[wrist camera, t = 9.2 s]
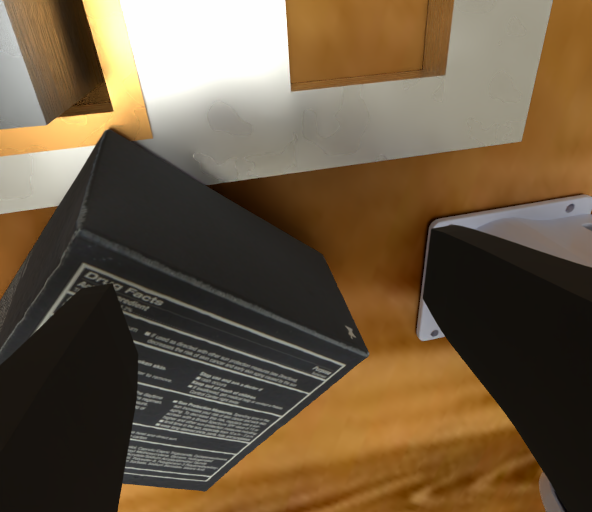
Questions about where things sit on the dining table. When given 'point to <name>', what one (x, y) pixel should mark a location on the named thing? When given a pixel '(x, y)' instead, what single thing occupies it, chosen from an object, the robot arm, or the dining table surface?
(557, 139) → the dining table surface
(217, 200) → the small box
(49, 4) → the post
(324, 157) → the rail plate
